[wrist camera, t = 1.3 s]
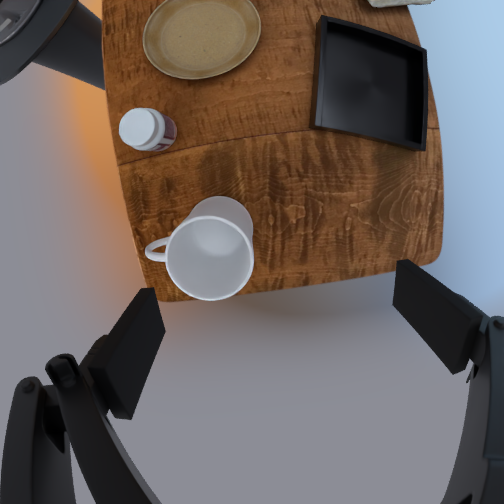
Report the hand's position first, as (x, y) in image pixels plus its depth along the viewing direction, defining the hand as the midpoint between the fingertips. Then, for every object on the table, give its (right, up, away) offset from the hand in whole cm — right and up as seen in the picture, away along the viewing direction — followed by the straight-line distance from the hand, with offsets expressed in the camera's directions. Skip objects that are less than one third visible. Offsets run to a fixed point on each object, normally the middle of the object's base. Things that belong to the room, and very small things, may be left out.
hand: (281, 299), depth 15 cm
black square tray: (+14, +25, +17) cm, 33 cm away
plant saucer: (-8, +30, +14) cm, 34 cm away
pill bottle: (-13, +17, +18) cm, 29 cm away
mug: (-7, +5, +22) cm, 24 cm away
